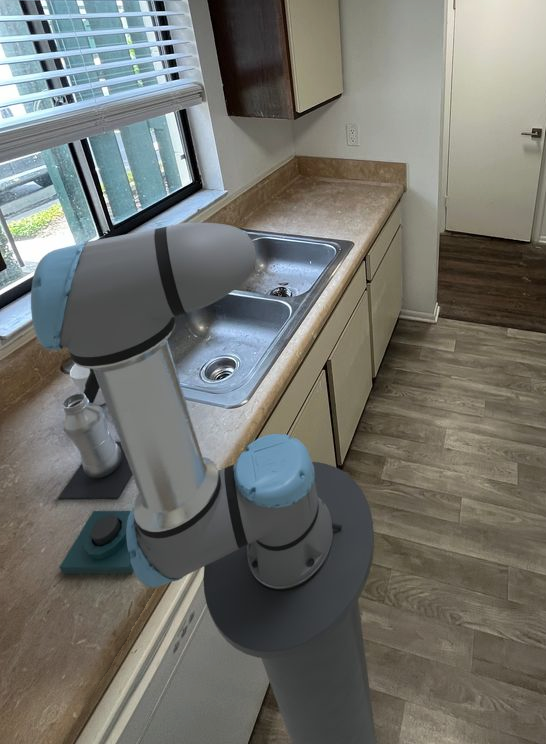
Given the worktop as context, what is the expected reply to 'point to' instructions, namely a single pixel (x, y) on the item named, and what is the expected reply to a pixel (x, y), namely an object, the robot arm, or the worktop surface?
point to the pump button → (105, 530)
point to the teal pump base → (99, 550)
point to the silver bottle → (91, 436)
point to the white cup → (84, 382)
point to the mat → (98, 483)
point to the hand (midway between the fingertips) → (108, 414)
